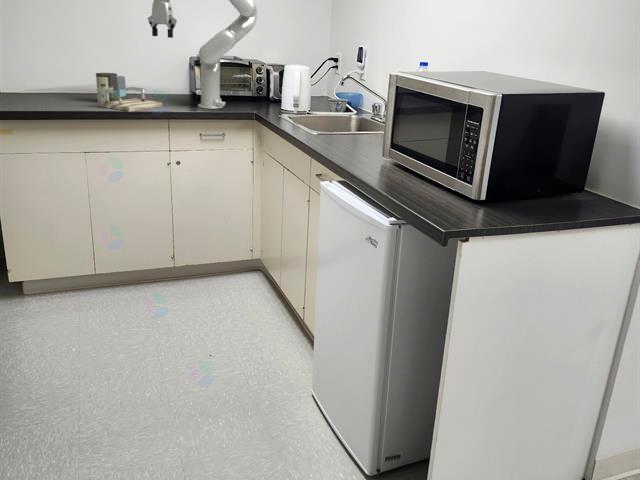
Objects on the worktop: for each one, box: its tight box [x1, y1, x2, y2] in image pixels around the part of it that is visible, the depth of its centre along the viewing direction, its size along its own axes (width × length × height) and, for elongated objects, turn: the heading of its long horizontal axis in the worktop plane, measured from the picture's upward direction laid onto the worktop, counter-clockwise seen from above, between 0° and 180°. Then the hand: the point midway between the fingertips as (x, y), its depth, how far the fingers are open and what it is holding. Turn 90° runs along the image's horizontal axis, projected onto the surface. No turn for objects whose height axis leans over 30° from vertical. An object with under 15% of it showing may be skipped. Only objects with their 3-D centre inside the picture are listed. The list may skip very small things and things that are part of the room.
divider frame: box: [104, 86, 146, 103], centre depth 289 cm, size 8×20×6 cm, turn 153°
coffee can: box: [95, 72, 119, 104], centre depth 297 cm, size 10×10×14 cm
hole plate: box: [100, 97, 163, 113], centre depth 290 cm, size 18×23×2 cm
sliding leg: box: [112, 75, 127, 103], centre depth 281 cm, size 4×5×12 cm
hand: (162, 36), depth 291 cm, fingers open, 9 cm apart
